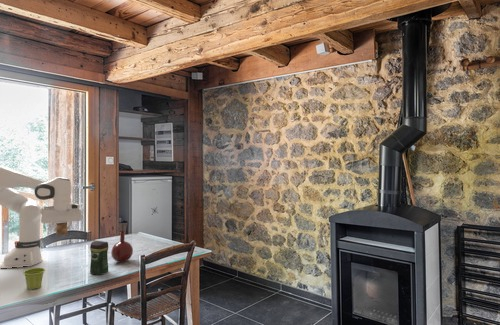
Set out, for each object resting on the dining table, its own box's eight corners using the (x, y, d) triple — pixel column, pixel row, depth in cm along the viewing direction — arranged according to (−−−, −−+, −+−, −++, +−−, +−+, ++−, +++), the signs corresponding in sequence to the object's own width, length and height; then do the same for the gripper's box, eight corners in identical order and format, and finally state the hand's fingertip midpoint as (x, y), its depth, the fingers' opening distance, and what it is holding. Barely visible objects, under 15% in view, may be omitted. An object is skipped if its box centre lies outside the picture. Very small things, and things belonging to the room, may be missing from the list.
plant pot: (48, 283, 176) (48, 267, 176) (37, 291, 166) (38, 274, 166) (30, 283, 175) (30, 267, 175) (19, 291, 166) (19, 273, 166)
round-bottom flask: (137, 260, 218) (137, 230, 217) (122, 266, 206) (122, 234, 205) (121, 257, 223) (122, 228, 222) (106, 263, 211) (106, 232, 210)
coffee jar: (110, 271, 196) (111, 240, 196) (101, 276, 188) (101, 243, 188) (97, 269, 199) (97, 239, 199) (87, 274, 191) (87, 242, 191)
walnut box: (56, 235, 184) (56, 224, 184) (56, 233, 188) (56, 222, 188) (67, 234, 187) (67, 223, 187) (66, 232, 191) (66, 221, 191)
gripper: (40, 207, 179) (40, 232, 179) (82, 205, 190) (82, 229, 191) (40, 206, 184) (39, 230, 184) (81, 203, 196) (80, 227, 196)
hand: (61, 229), depth 188 cm, fingers closed on walnut box, 5 cm apart
